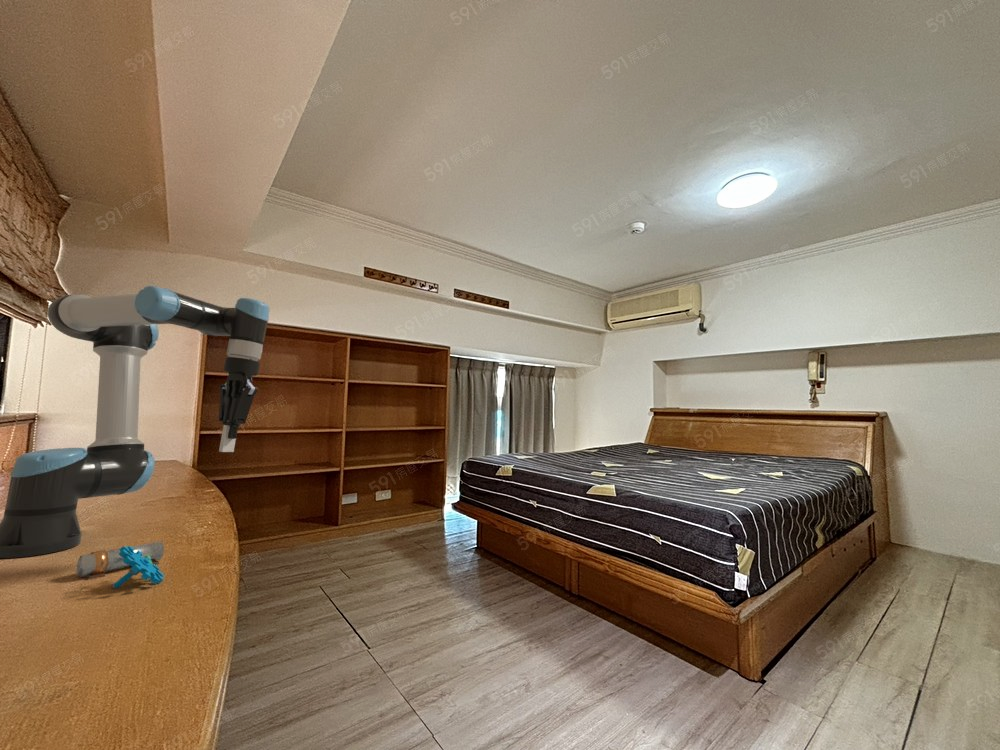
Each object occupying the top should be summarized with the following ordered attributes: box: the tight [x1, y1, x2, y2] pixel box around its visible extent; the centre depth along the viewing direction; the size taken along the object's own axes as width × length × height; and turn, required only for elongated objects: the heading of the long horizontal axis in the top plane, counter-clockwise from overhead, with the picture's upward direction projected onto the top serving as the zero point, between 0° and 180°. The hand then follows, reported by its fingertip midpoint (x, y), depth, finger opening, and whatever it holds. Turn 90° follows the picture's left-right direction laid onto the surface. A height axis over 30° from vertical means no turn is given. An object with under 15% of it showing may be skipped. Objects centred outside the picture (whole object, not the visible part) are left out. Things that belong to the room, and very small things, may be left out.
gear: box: [112, 545, 165, 589], centre depth 78 cm, size 11×6×10 cm
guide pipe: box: [76, 540, 165, 580], centre depth 86 cm, size 5×13×5 cm, turn 151°
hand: (226, 451), depth 100 cm, fingers closed
